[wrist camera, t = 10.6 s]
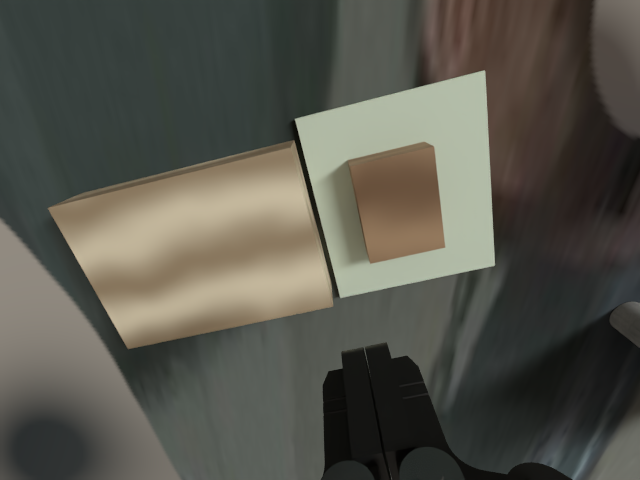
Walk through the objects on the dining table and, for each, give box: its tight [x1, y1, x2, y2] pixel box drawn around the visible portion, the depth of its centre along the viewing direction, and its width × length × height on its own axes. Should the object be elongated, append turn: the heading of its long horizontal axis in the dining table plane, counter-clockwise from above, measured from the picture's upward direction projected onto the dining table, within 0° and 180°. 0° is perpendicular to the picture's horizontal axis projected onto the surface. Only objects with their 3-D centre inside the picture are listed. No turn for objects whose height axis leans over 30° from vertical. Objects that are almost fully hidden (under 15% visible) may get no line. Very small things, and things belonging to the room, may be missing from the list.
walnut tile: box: [347, 142, 445, 264], centre depth 27 cm, size 8×6×2 cm
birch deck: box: [48, 140, 333, 349], centre depth 29 cm, size 13×18×4 cm
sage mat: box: [295, 71, 495, 298], centre depth 29 cm, size 16×14×1 cm
